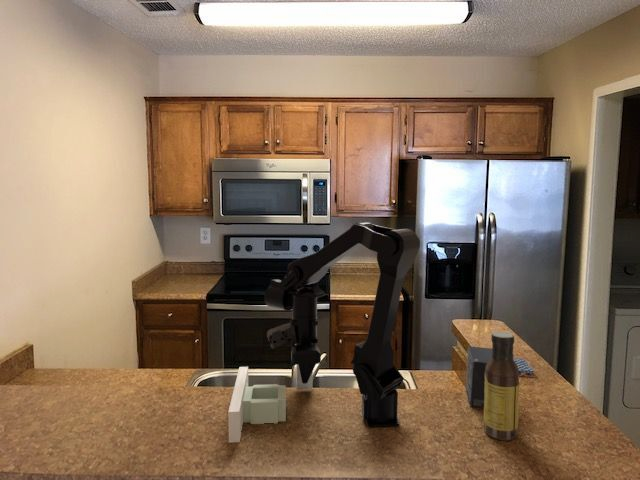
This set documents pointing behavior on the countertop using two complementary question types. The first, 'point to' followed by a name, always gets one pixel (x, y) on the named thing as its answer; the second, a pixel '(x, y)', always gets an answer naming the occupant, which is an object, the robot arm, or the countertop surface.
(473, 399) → the small box
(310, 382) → the grey square block
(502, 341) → the sauce bottle
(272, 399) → the socket block
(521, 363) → the woven mat
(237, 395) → the backstop wall
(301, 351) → the robot arm
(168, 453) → the countertop surface
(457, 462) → the countertop surface
